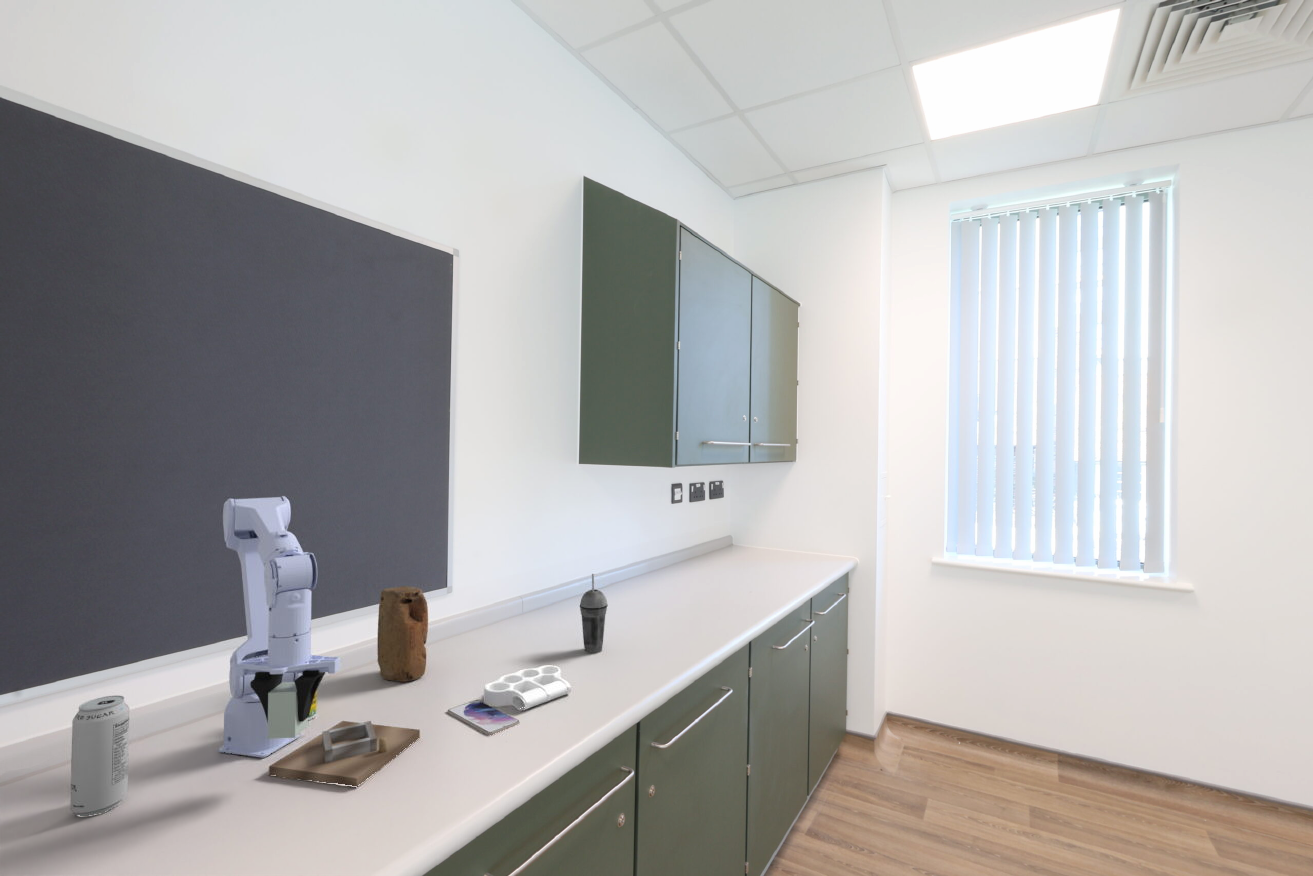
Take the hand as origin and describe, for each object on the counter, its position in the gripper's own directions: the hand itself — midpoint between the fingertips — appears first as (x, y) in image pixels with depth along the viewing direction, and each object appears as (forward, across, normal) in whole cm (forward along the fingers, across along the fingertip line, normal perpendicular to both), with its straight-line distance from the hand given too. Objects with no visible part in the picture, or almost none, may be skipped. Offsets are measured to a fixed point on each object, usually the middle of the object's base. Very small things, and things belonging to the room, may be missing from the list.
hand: (288, 719), depth 92 cm
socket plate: (+9, +6, +7) cm, 13 cm away
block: (+10, +4, +42) cm, 43 cm away
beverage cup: (+10, +48, +56) cm, 74 cm away
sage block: (+2, 0, 0) cm, 2 cm away
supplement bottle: (+10, -8, +22) cm, 25 cm away
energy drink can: (+10, -23, -5) cm, 26 cm away
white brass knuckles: (+10, +34, +30) cm, 46 cm away
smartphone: (+10, +26, +19) cm, 34 cm away
